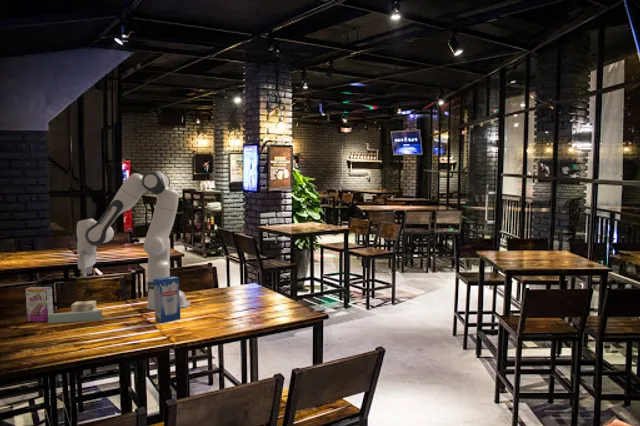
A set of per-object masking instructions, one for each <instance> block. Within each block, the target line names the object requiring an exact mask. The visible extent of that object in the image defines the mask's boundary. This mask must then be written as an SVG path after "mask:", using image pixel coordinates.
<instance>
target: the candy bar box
mask: <svg viewBox="0 0 640 426" xmlns="http://www.w3.org/2000/svg"><path fill="white" fill-rule="evenodd" d="M24 290H25V293H24V294H25V303H26V321H27V323H29V322H31V323H33V322H35V323H36V322H37V323H38V322H40V323H41V321H42V323H44V322H45V323H46V321H48V315H49V314H54V304H53V303H54V301H53V300H54V299H53V288H52V286H34V287H33V286H31V287H27V288H25V289H24Z"/></svg>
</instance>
